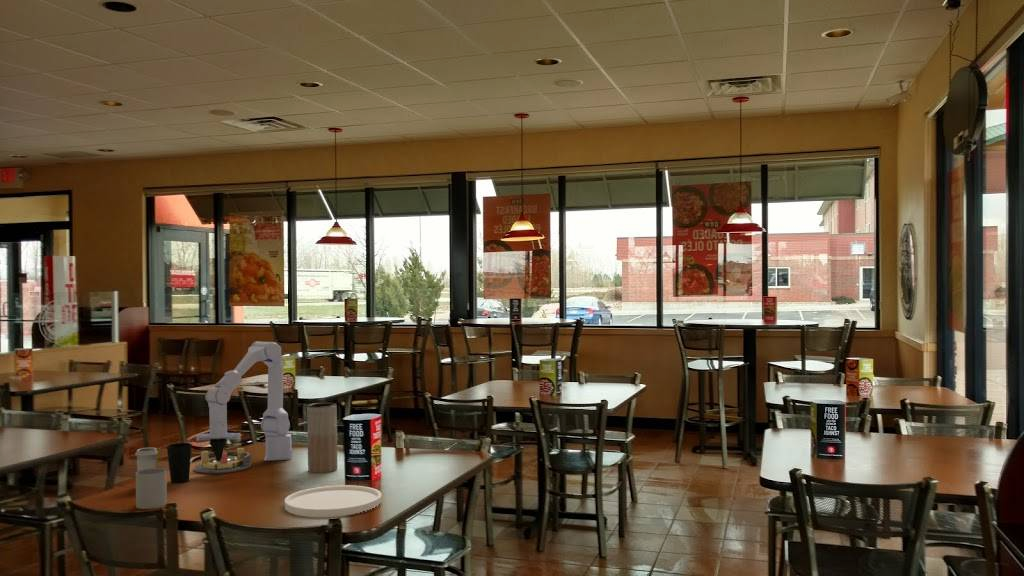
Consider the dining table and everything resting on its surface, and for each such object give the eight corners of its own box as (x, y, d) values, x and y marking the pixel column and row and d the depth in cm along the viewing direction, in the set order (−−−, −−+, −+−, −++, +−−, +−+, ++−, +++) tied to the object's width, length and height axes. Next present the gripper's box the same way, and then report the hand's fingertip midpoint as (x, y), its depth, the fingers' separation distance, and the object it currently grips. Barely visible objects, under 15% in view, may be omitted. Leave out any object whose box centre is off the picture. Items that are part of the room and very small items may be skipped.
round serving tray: (254, 460, 308) (254, 449, 308) (247, 472, 290) (247, 460, 290) (199, 463, 305) (199, 452, 305) (189, 475, 286) (189, 463, 286)
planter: (309, 474, 286) (308, 407, 285) (306, 468, 295) (305, 403, 295) (339, 471, 289) (338, 405, 289) (335, 465, 298) (334, 402, 298)
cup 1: (131, 486, 271) (130, 449, 271) (151, 482, 276) (150, 446, 276) (143, 490, 266) (142, 452, 266) (162, 485, 272) (162, 448, 272)
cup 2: (173, 502, 250) (172, 469, 250) (152, 509, 243) (152, 475, 242) (150, 500, 253) (149, 467, 253) (129, 507, 245) (129, 473, 245)
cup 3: (186, 484, 274) (185, 447, 274) (163, 484, 274) (162, 447, 274) (195, 478, 281) (195, 442, 281) (173, 478, 282) (172, 442, 282)
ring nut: (220, 459, 307) (220, 445, 307) (253, 461, 302) (253, 447, 302) (191, 467, 293) (191, 452, 293) (225, 470, 288) (225, 455, 288)
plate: (292, 523, 228) (292, 514, 228) (278, 499, 254) (278, 491, 254) (393, 510, 239) (392, 502, 239) (369, 489, 265) (369, 481, 265)
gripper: (193, 424, 287) (194, 463, 287) (237, 422, 288) (237, 462, 288) (198, 420, 294) (199, 459, 294) (241, 419, 295) (242, 458, 295)
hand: (218, 460), depth 291 cm, fingers closed
